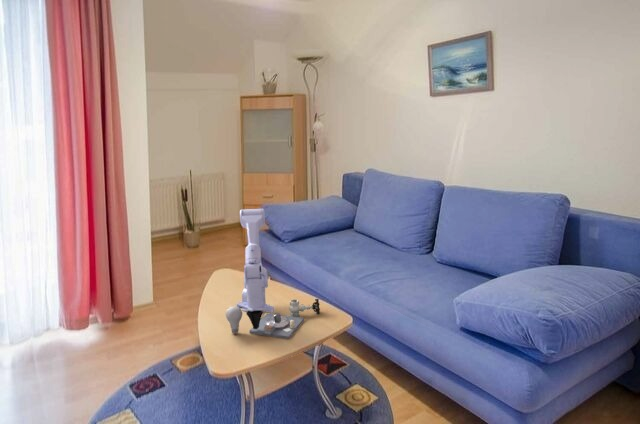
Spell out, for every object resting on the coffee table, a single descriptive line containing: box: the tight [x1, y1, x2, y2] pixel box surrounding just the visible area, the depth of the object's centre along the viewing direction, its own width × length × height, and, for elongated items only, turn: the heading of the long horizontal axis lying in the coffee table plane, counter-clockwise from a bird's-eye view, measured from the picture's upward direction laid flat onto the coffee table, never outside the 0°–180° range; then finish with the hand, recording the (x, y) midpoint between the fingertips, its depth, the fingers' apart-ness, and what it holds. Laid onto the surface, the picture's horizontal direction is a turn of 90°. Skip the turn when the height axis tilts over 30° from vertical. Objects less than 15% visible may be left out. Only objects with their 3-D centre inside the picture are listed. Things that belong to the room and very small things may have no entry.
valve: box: [289, 298, 321, 317], centre depth 186 cm, size 7×7×12 cm
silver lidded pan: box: [264, 312, 289, 334], centre depth 174 cm, size 14×9×4 cm, turn 161°
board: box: [249, 312, 305, 340], centre depth 176 cm, size 16×16×4 cm
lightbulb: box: [225, 305, 243, 335], centre depth 170 cm, size 6×6×11 cm
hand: (256, 327), depth 172 cm, fingers closed
